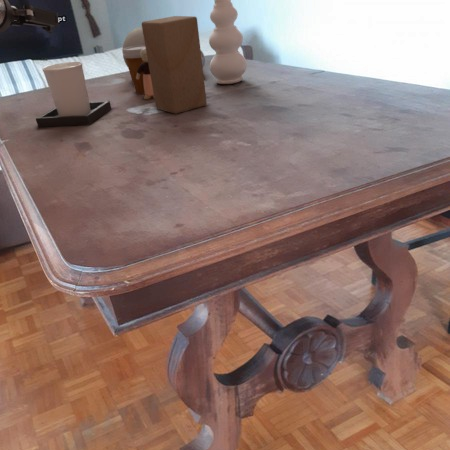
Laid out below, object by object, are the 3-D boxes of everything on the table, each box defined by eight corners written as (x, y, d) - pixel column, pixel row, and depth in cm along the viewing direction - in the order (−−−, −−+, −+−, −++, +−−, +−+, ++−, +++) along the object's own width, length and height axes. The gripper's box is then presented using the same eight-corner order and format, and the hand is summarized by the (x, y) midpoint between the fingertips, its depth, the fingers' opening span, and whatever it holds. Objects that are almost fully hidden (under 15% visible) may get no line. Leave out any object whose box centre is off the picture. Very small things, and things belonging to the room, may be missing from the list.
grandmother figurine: (142, 100, 134) (132, 51, 127) (139, 98, 137) (129, 49, 130) (168, 95, 136) (160, 46, 129) (164, 93, 139) (156, 45, 132)
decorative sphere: (125, 77, 166) (116, 28, 158) (167, 70, 169) (160, 22, 160) (130, 84, 154) (119, 32, 146) (175, 77, 157) (167, 25, 148)
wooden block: (175, 114, 118) (160, 22, 106) (155, 108, 125) (140, 21, 113) (207, 105, 122) (197, 16, 111) (187, 100, 129) (175, 15, 118)
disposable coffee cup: (128, 96, 140) (119, 51, 133) (132, 89, 148) (124, 46, 141) (160, 93, 140) (153, 47, 133) (162, 86, 148) (155, 43, 141)
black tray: (38, 127, 122) (35, 118, 120) (63, 111, 133) (61, 103, 132) (89, 124, 119) (87, 115, 117) (111, 108, 130) (109, 100, 129)
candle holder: (100, 113, 124) (87, 63, 117) (64, 122, 120) (49, 71, 113) (85, 108, 131) (73, 60, 124) (51, 116, 127) (36, 67, 120)
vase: (236, 87, 136) (227, -17, 122) (204, 86, 141) (193, -14, 127) (254, 78, 143) (248, -21, 129) (223, 78, 149) (214, -18, 134)
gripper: (-83, 32, 86) (-36, 46, 105) (58, 30, 88) (78, 44, 107) (-95, -17, 83) (-44, 7, 102) (51, -18, 85) (73, 6, 105)
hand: (18, 26), depth 105 cm, fingers open, 13 cm apart
